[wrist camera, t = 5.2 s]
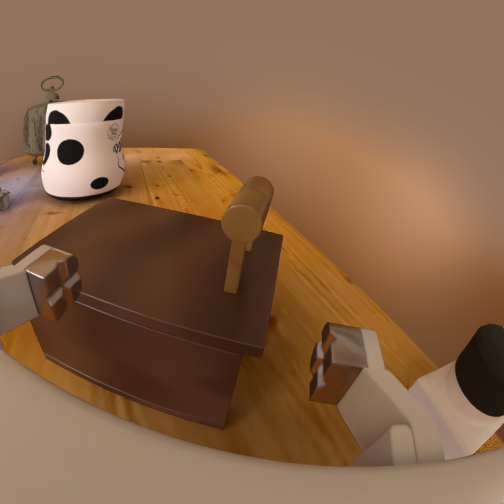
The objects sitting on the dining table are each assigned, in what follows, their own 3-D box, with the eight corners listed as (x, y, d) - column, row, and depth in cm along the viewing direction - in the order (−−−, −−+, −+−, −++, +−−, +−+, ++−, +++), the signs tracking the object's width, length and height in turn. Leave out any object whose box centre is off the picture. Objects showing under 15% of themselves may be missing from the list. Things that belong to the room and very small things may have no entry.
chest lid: (281, 243, 24) (298, 173, 21) (261, 359, 13) (293, 250, 10) (108, 204, 25) (109, 142, 22) (13, 271, 14) (-4, 184, 11)
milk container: (141, 189, 55) (148, 99, 46) (73, 216, 40) (73, 103, 32) (89, 174, 59) (93, 98, 50) (29, 195, 44) (27, 106, 36)
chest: (252, 319, 29) (270, 241, 24) (223, 430, 18) (242, 355, 13) (113, 280, 29) (108, 205, 25) (46, 358, 18) (13, 272, 14)
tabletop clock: (74, 159, 69) (80, 74, 57) (69, 167, 62) (74, 73, 50) (31, 163, 63) (34, 79, 51) (22, 172, 56) (24, 79, 44)
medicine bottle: (406, 495, 13) (529, 407, 7) (370, 428, 19) (458, 320, 13) (459, 457, 15) (554, 366, 9) (424, 403, 21) (500, 305, 15)
